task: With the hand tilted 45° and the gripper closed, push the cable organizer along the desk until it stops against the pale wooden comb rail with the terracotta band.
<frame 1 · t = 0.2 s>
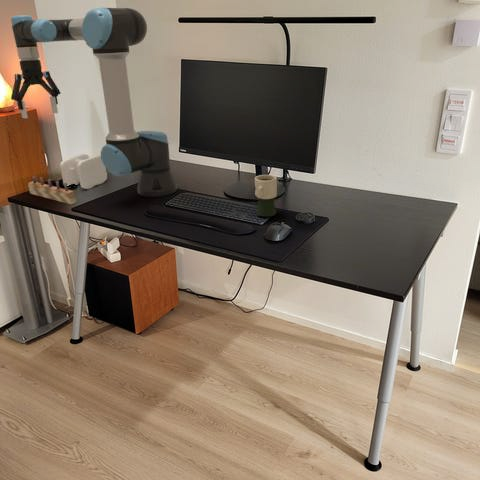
hand: (40, 115, 197), 28 cm above the table, tool pointing down, fingers open, 13 cm apart
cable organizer: (86, 185, 202), on the table
character mug: (266, 215, 163), on the table
comb rail: (52, 197, 188), on the table
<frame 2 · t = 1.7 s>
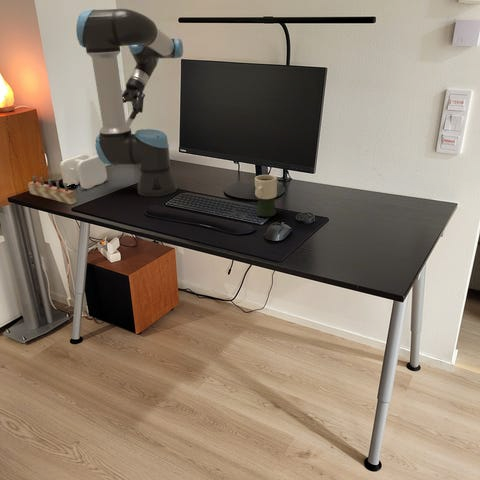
hand: (115, 123, 208), 22 cm above the table, tool tilted 45°, fingers open, 13 cm apart
nothing on the table moved.
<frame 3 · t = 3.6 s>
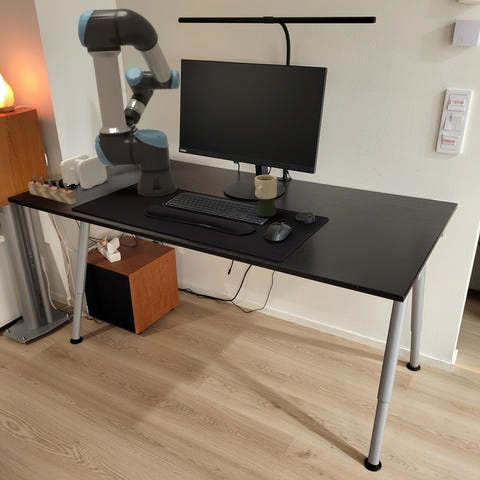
hand: (109, 158, 210), 8 cm above the table, tool tilted 45°, fingers closed
nothing on the table moved.
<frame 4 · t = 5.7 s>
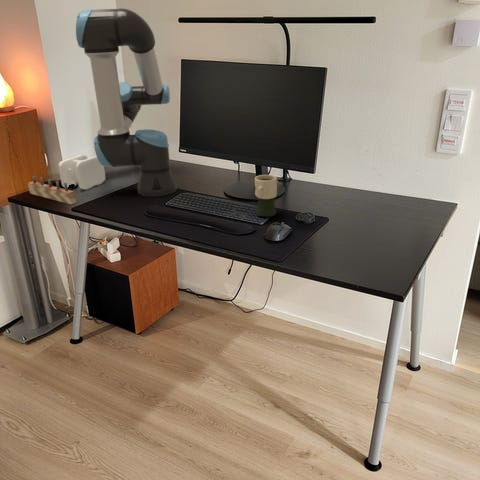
hand: (95, 174, 206), 3 cm above the table, tool tilted 45°, fingers closed
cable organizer: (84, 186, 202), on the table, touching gripper
everything else where it was.
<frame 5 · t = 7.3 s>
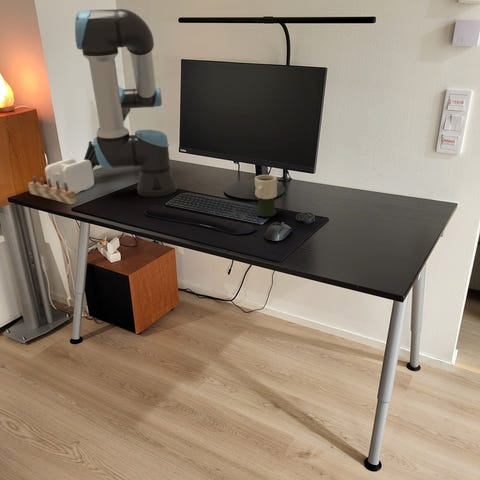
hand: (83, 178, 200), 3 cm above the table, tool tilted 45°, fingers closed
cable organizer: (72, 191, 196), on the table
everything else where it was.
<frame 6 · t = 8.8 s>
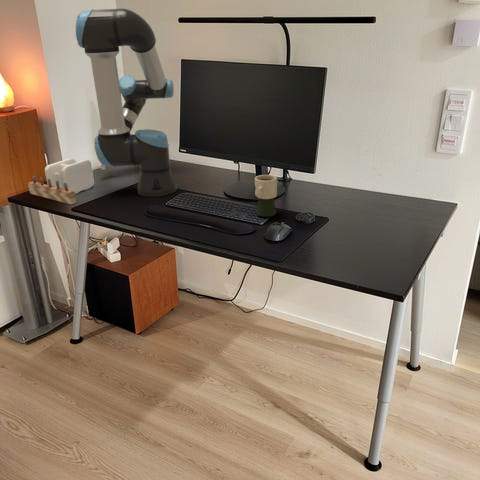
hand: (101, 168, 207), 5 cm above the table, tool tilted 45°, fingers closed
nothing on the table moved.
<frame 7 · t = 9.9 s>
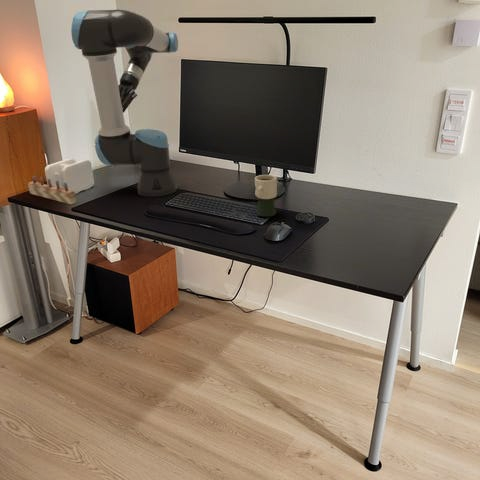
hand: (108, 124, 205), 22 cm above the table, tool tilted 45°, fingers closed
nothing on the table moved.
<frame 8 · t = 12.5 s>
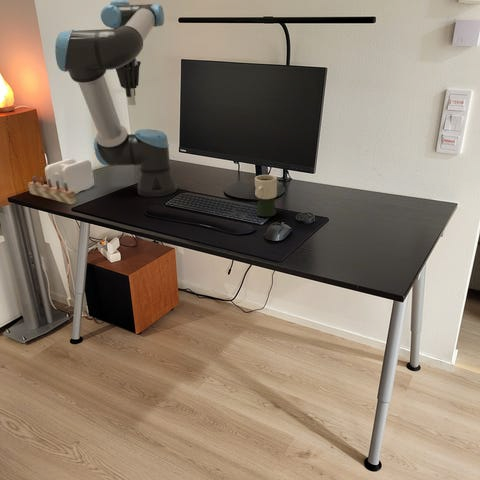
hand: (132, 104, 204), 29 cm above the table, tool pointing down, fingers closed
nothing on the table moved.
at the end: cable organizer inside the target area (1.5 cm from its centre), on the table; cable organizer tilted 0° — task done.
